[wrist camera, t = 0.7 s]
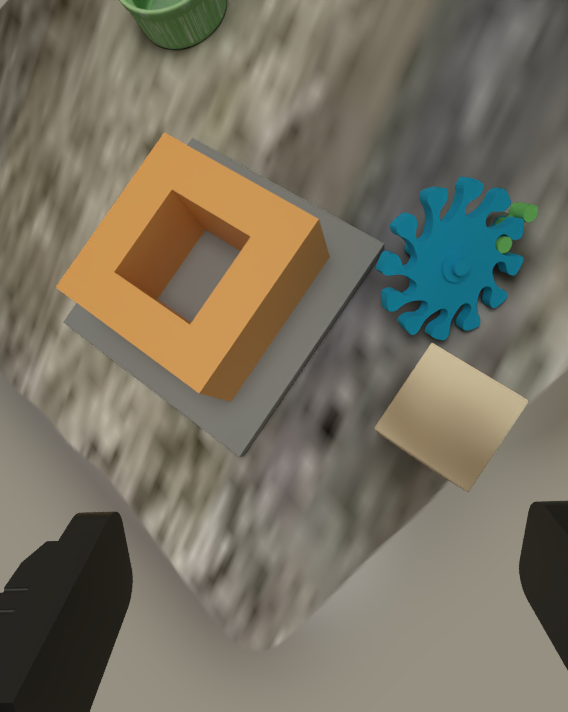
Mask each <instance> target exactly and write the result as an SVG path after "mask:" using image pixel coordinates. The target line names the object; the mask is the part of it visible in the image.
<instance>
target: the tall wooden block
mask: <svg viewBox="0 0 568 712" xmlns="http://www.w3.org/2000/svg"><path fill="white" fill-rule="evenodd" d="M528 402H529V400H527V399H525V398H524V397H522V396H520V395H519V394H517V393H515V392H513V391H512V390H510V389H508V388H507V387H505V386H503V385H502V384H500V383H498V382H497V381H495V380H493V379H492V378H490V377H488V376H487V375H485V374H483V373H482V372H480V371H478V370H477V369H475V368H473V367H472V366H470V365H468V364H467V363H465V362H463V361H462V360H460V359H458V358H457V357H455V356H453V355H452V354H450V353H448V352H447V351H445V350H443V349H442V348H440V347H438V346H437V345H435V344H433V343H431V344H430V346H429V347H428V349H427V350H426V352H425V353H424V355H423V356H422V358H421V359H420V361H419V362H418V364H417V365H416V367H415V368H414V370H413V371H412V373H411V374H410V376H409V377H408V379H407V380H406V382H405V383H404V385H403V386H402V388H401V389H400V391H399V392H398V394H397V395H396V397H395V398H394V400H393V401H392V403H391V404H390V406H389V407H388V409H387V410H386V412H385V413H384V414H383V416H382V417H381V419H380V420H379V422H378V423H377V425H376V426H375V428H374V429H375V430H376V432H377V433H378V434H380V435H381V436H383V437H384V438H386V439H387V440H389V441H390V442H392V443H393V444H395V445H396V446H398V447H399V448H400V449H402V450H403V451H405V452H406V453H408V454H409V455H411V456H412V457H414V458H415V459H417V460H418V461H420V462H421V463H423V464H424V465H425V466H427V467H428V468H430V469H431V470H433V471H434V472H436V473H437V474H439V475H441V476H442V477H444V478H446V479H447V480H449V481H450V482H452V483H454V484H455V485H457V486H459V487H460V488H462V489H463V490H465V491H467V492H469V491H470V489H471V488H472V486H473V485H474V483H475V482H476V480H477V479H478V477H479V476H480V474H481V473H482V471H483V470H484V468H485V467H486V465H487V464H488V462H489V461H490V459H491V457H492V456H493V455H494V453H495V452H496V450H497V448H498V447H499V445H500V444H501V442H502V441H503V439H504V438H505V436H506V435H507V433H508V432H509V430H510V429H511V427H512V426H513V424H514V423H515V421H516V420H517V418H518V417H519V415H520V414H521V412H522V411H523V409H524V408H525V406H526V405H527V403H528Z"/></svg>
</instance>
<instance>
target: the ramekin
mask: <svg viewBox="0 0 568 712" xmlns="http://www.w3.org/2000/svg"><path fill="white" fill-rule="evenodd" d="M119 1H120V2H121V3H122V5H123V6H124V7H125V8H126V9H127V10H128V11H129V12H130V13H131V14H132V16H133V17H134V19H135V20H136V22H137V23H138V24H139V26H140V27H141V29H142V30H143V32H144V33H145V34H146V35H147V37H148V38H149V39H150V40H151V41H152V42H154V43H155V44H157V45H159V46H161V47H164V48H168V49H182V48H187V47H190V46H193V45H195V44H197V43H199V42H201V41H203V40H204V39H205V38H207V37H208V36H209V35H210V34H211V33H212V32H213V31H214V30H215V29H216V28H217V27H218V25H219V24H220V22H221V20H222V18H223V16H224V13H225V10H226V5H227V0H119Z"/></svg>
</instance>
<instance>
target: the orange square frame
mask: <svg viewBox="0 0 568 712" xmlns="http://www.w3.org/2000/svg"><path fill="white" fill-rule="evenodd" d="M383 250H384V243H382V242H380V241H378V240H376V239H375V238H373V237H371V236H369V235H367V234H366V233H364V232H362V231H360V230H358V229H356V228H355V227H353V226H351V225H349V224H347V223H346V222H344V221H342V220H340V219H338V218H337V217H335V216H333V215H331V214H329V213H327V212H326V211H324V210H322V209H320V208H318V207H317V206H315V205H313V204H311V203H309V202H308V201H306V200H304V199H302V198H300V197H298V196H297V195H295V194H293V193H291V192H289V191H288V190H286V189H284V188H282V187H280V186H279V185H277V184H275V183H273V182H271V181H269V180H268V179H266V178H264V177H262V176H260V175H259V174H257V173H255V172H253V171H251V170H250V169H248V168H246V167H244V166H242V165H240V164H239V163H237V162H235V161H233V160H231V159H230V158H228V157H226V156H224V155H222V154H221V153H219V152H217V151H215V150H213V149H211V148H210V147H208V146H206V145H204V144H202V143H201V142H199V141H197V140H195V139H193V138H192V139H191V140H190V142H189V143H188V145H186V144H184V143H182V142H180V141H179V140H177V139H175V138H173V137H171V136H170V135H168V134H166V133H164V134H163V135H162V137H161V138H160V139H159V141H158V142H157V144H156V145H155V147H154V148H153V149H152V151H151V152H150V154H149V155H148V157H147V158H146V159H145V161H144V162H143V164H142V165H141V166H140V168H139V169H138V171H137V172H136V174H135V175H134V176H133V178H132V179H131V181H130V182H129V184H128V185H127V186H126V188H125V189H124V191H123V192H122V194H121V195H120V196H119V198H118V199H117V201H116V202H115V203H114V205H113V206H112V208H111V209H110V211H109V212H108V213H107V215H106V216H105V218H104V219H103V221H102V222H101V223H100V225H99V226H98V228H97V229H96V231H95V232H94V233H93V235H92V236H91V238H90V239H89V241H88V242H87V243H86V245H85V246H84V248H83V249H82V250H81V252H80V253H79V255H78V256H77V258H76V259H75V260H74V262H73V263H72V265H71V266H70V268H69V269H68V270H67V272H66V273H65V275H64V276H63V278H62V279H61V280H60V282H59V283H58V285H57V286H56V288H57V289H59V290H60V291H61V292H63V293H64V294H66V295H67V296H68V297H70V298H71V299H72V300H74V301H75V302H76V305H75V306H74V308H73V309H72V310H71V312H70V313H69V315H68V316H67V318H66V319H65V320H64V323H65V324H66V325H68V326H69V327H70V328H72V329H73V330H74V331H75V332H77V333H78V334H79V335H81V336H82V337H83V338H85V339H86V340H87V341H89V342H90V343H91V344H92V345H94V346H95V347H96V348H98V349H99V350H100V351H102V352H103V353H104V354H106V355H107V356H108V357H109V358H111V359H112V360H113V361H115V362H116V363H117V364H119V365H120V366H121V367H123V368H124V369H125V370H126V371H128V372H129V373H130V374H132V375H133V376H134V377H136V378H137V379H138V380H140V381H141V382H142V383H143V384H145V385H146V386H147V387H149V388H150V389H151V390H153V391H154V392H155V393H156V394H158V395H159V396H160V397H162V398H163V399H164V400H166V401H167V402H168V403H170V404H171V405H172V406H173V407H175V408H176V409H177V410H179V411H180V412H181V413H183V414H184V415H185V416H187V417H188V418H189V419H190V420H192V421H193V422H194V423H196V424H197V425H198V426H200V427H201V428H202V429H204V430H205V431H206V432H207V433H209V434H210V435H211V436H213V437H214V438H215V439H217V440H218V441H219V442H221V443H222V444H223V445H224V446H226V447H227V448H228V449H230V450H231V451H232V452H234V453H235V454H236V455H237V456H239V457H242V456H244V455H245V453H246V452H247V450H248V449H249V447H250V446H251V444H252V443H253V442H254V440H255V439H256V437H257V436H258V434H259V433H260V431H261V430H262V428H263V427H264V425H265V424H266V422H267V421H268V419H269V418H270V416H271V415H272V414H273V412H274V411H275V409H276V408H277V406H278V405H279V403H280V402H281V400H282V399H283V397H284V396H285V394H286V393H287V391H288V390H289V389H290V387H291V386H292V384H293V383H294V381H295V380H296V378H297V377H298V375H299V374H300V372H301V371H302V369H303V368H304V366H305V365H306V364H307V362H308V361H309V359H310V358H311V356H312V355H313V353H314V352H315V350H316V349H317V347H318V346H319V344H320V343H321V341H322V340H323V339H324V337H325V336H326V334H327V333H328V331H329V330H330V328H331V327H332V325H333V324H334V322H335V321H336V319H337V318H338V316H339V315H340V313H341V312H342V311H343V309H344V308H345V306H346V305H347V303H348V302H349V300H350V299H351V297H352V296H353V294H354V293H355V291H356V290H357V288H358V287H359V286H360V284H361V283H362V281H363V280H364V278H365V277H366V275H367V274H368V272H369V271H370V269H371V268H372V266H373V265H374V263H375V262H376V261H377V259H378V258H379V256H380V255H381V253H382V252H383Z"/></svg>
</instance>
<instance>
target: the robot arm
mask: <svg viewBox="0 0 568 712" xmlns="http://www.w3.org/2000/svg"><path fill="white" fill-rule="evenodd" d="M519 574H520V580H521V584H522V587H523V590H524V593H525V595H526V598H527V600H528V602H529V603H530V605H531V607H532V609H533V610H534V612H535V614H536V616H537V617H538V619H539V621H540V623H541V624H542V626H543V628H544V630H545V631H546V633H547V635H548V637H549V638H550V640H551V642H552V643H553V645H554V647H555V649H556V651H557V652H558V654H559V656H560V658H561V659H562V661H563V663H564V665H565V666H566V668H567V670H568V501H545V502H544V501H543V502H534V503H532V505H531V506H530V508H529V512H528V517H527V523H526V528H525V534H524V539H523V545H522V550H521V556H520V562H519ZM132 577H133V576H132V568H131V563H130V558H129V553H128V547H127V542H126V538H125V533H124V527H123V522H122V518H121V516H120V514H119V513H118V512H90V513H89V512H86V513H78V514H76V515H75V516H74V517H73V518H72V520H71V521H70V523H69V525H68V526H67V528H66V530H65V531H64V533H63V534H62V536H61V537H60V539H59V541H47V542H45V543H44V544H43V545H42V546H41V547H39V549H37V550H36V551H35V552H34V553H32V554H31V555H30V556H29V557H28V558H26V559H25V560H24V561H23V562H22V563H21V564H20V566H19V567H18V568H17V570H16V571H15V573H14V574H13V576H12V577H11V579H10V580H9V582H8V583H7V584H6V586H5V587H4V592H3V593H0V712H90V709H91V706H92V703H93V701H94V698H95V696H96V693H97V690H98V687H99V685H100V682H101V679H102V677H103V674H104V671H105V669H106V666H107V663H108V660H109V658H110V655H111V652H112V649H113V647H114V644H115V641H116V639H117V636H118V633H119V631H120V628H121V625H122V623H123V620H124V617H125V614H126V612H127V609H128V606H129V603H130V599H131V592H132V583H133V580H132V579H133V578H132Z"/></svg>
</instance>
